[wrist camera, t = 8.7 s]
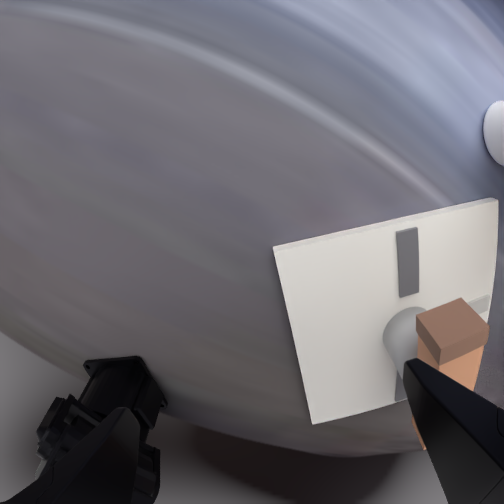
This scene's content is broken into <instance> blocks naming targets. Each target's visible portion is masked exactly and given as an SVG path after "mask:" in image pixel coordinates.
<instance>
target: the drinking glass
mask: <svg viewBox="0 0 504 504" xmlns="http://www.w3.org/2000/svg"><path fill="white" fill-rule="evenodd" d="M483 133H484V139H485V143H486V146H487V149H488V151H489V153H490V155H491V156H492V158H493V159H494V160H495V161H496V162H497V163H498V164H500V165H502V166H504V100H501V101H497V102H495V103H493V104H492V105H491V106H490V107H489V108H488V110H487V112H486V114H485V118H484V124H483Z"/></svg>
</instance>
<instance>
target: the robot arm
mask: <svg viewBox="0 0 504 504" xmlns="http://www.w3.org/2000/svg"><path fill="white" fill-rule="evenodd" d="M136 361H137V362H138V363H137V362H136ZM83 366H84V368H85V370H86V371H87V373H88V374H89V376H90V377H91V378H90V380H89V381H88V383H87V385H86V387H85V389H84V390H83V392H82V394H81V396H80V398H79V399H78V400H76V399H75V397H74V396H73V395H71V394H69V395H68V397H67V398H66V399H64V398H59V397H56V398H55V400H54V401H53V403H52V405H51V406H50V408H49V410H48V411H47V413H46V415H45V417H44V418H43V420H42V422H41V424H40V426H39V427H38V429H37V431H36V434H37V438H38V441H39V442H38V444H37V445H38V446H39V447H38V449H37V452H36V455H38V456H39V457H41V458H42V461H41V463H40V465H39V467H38V469H37V471H36V474H35V477H36V481H34V482H33V483H32V484H30V485H29V486H28V487H26V488H25V489H23V490H22V491H21V492H19V493H18V494H16V495H15V496H13V497H12V498H11V499H9V500H7V501H5V502H0V504H153V503H154V502H155V500H156V498H157V495H158V492H159V488H160V450H159V449H157V448H155V447H152V446H150V445H148V444H146V440H147V436H148V433H149V430H150V429H153V428H154V426H155V423H156V419H157V416H158V413H159V410H160V409H166V408H167V405H168V403H167V401H166V400H165V398H164V396H163V394H162V392H161V391H160V389H159V387H158V386H157V384H156V382H155V380H154V379H153V377H152V376H151V374H150V373H149V371H148V369H147V367H146V366H145V364H144V362H143V360H142V359H141V358H140V357H138V356H131V357H121V358H110V359H98V360H87V361H85V363H84V364H83ZM403 386H404V389H405V392H406V395H407V398H408V401H409V404H410V408H411V411H412V414H413V417H414V420H415V423H416V426H417V429H418V431H419V433H420V435H421V438H422V440H423V442H424V445H425V447H426V449H427V452H428V454H429V456H430V458H431V461H432V463H433V466H434V468H435V471H436V473H437V475H438V478H439V480H440V483H441V486H442V488H443V491H444V493H445V496H446V498H447V501H448V504H504V410H503V409H501V408H500V407H498V408H497V406H496V405H495V404H493V403H491V402H490V401H488V400H486V399H485V398H483V397H481V396H480V395H478V394H476V393H475V392H473V391H471V390H470V389H468V388H467V387H465V386H463V385H462V384H460V383H458V382H457V381H455V380H453V379H452V378H450V377H448V376H447V375H445V374H443V373H442V372H440V371H439V370H437V369H435V368H434V367H432V366H430V365H429V364H427V363H425V362H424V361H422V360H420V359H419V358H413V359H410V360H407V361H405V362H404V368H403Z"/></svg>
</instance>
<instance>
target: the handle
mask: <svg viewBox="0 0 504 504" xmlns="http://www.w3.org/2000/svg"><path fill="white" fill-rule="evenodd" d="M489 329H490V326H489V325H488V324H487V323H486V322H485V321H484V320H483V319H482V318H481V317H480V316H479V315H478V314H477V313H476V312H475V311H474V310H473V309H472V308H471V307H470V306H469V305H468V304H467V303H466V302H465V301H464V300H463V299H462V298H458V299H456V300H453V301H451V302H448V303H446V304H443V305H441V306H438V307H435V308H433V309H430V310H428V311H425V312H422V313H420V314H417V315H416V332H417V334H418V351H417V358H419V359H420V360H422V361H424V362H425V363H427V364H429V365H430V366H432V367H434V368H435V369H437V370H439V371H440V372H442V373H443V374H445V375H447V376H448V377H450V378H452V379H453V380H455V381H457V382H458V383H460V384H462V385H463V386H465V387H467V388H468V389H470V390H471V391H473V390H474V386H475V382H476V379H477V375H478V371H479V366H480V362H481V358H482V353H483V348H484V345H485V344H487V340H488V334H489ZM412 424H413V426H414V428H415V431H416V433H417V435H418V438H419V440H420V442H421V445H422V447H423V450H426V447H425V445H424V442H423V440H422V438H421V435H420V433H419V431H418V429H417V426H416V423H415V420H414V417H413V414H412Z"/></svg>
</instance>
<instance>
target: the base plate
mask: <svg viewBox="0 0 504 504" xmlns="http://www.w3.org/2000/svg"><path fill="white" fill-rule="evenodd" d="M497 239H498V200H497V199H494V198H492V197H489V198H485V199H480V200H476V201H472V202H467V203H463V204H458V205H454V206H450V207H445V208H441V209H436V210H432V211H428V212H423V213H419V214H414V215H410V216H406V217H401V218H397V219H392V220H388V221H384V222H379V223H375V224H370V225H366V226H362V227H357V228H353V229H348V230H344V231H340V232H335V233H331V234H326V235H322V236H318V237H313V238H309V239H305V240H300V241H296V242H291V243H287V244H283V245H278V246H274V247H273V251H274V256H275V260H276V264H277V268H278V273H279V277H280V281H281V285H282V290H283V294H284V298H285V303H286V307H287V311H288V316H289V320H290V324H291V329H292V333H293V338H294V342H295V347H296V351H297V356H298V360H299V365H300V369H301V374H302V379H303V383H304V388H305V393H306V397H307V402H308V407H309V411H310V416H311V421H312V424H317V423H322V422H326V421H331V420H335V419H339V418H343V417H347V416H351V415H355V414H359V413H363V412H366V411H370V410H373V409H377V408H380V407H383V406H386V405H390V404H393V403H396V402H399V401H402V400H405V399H408V398H407V395H406V392H405V389H404V386H403V368H404V362H405V361H407V360H410V359H413V358H417V351H418V334H417V332H416V315H417V314H420V313H422V312H425V311H428V310H430V309H433V308H435V307H438V306H441V305H443V304H446V303H448V302H451V301H453V300H456V299H458V298H462V299H463V300H464V301H465V302H466V303H467V304H468V305H469V306H470V307H471V308H472V309H473V310H474V311H475V312H476V313H477V314H478V315H479V316H480V317H481V318H482V319H483V320H484V321H485V322H486V323H487V321H488V315H489V310H490V304H491V297H492V291H493V283H494V275H495V265H496V254H497Z"/></svg>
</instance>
